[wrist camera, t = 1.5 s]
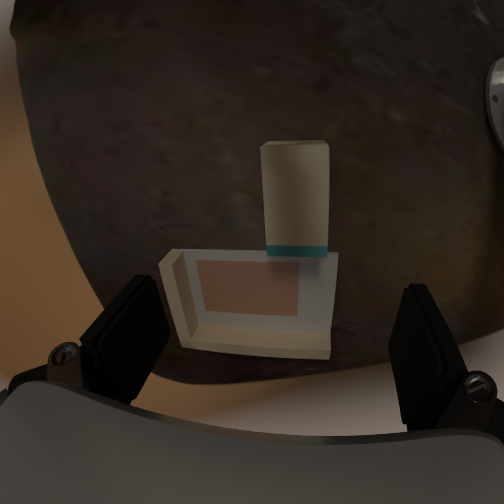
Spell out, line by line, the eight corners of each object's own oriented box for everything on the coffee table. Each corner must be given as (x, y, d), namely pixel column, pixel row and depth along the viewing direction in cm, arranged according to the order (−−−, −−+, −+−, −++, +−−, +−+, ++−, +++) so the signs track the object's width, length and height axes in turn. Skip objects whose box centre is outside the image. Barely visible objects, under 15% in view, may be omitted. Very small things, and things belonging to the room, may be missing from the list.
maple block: (324, 140, 23) (329, 146, 19) (324, 233, 27) (326, 257, 23) (269, 141, 24) (260, 146, 20) (273, 232, 28) (266, 255, 24)
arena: (338, 252, 28) (341, 269, 25) (328, 338, 33) (329, 359, 30) (172, 248, 31) (158, 264, 28) (191, 329, 37) (181, 347, 34)
